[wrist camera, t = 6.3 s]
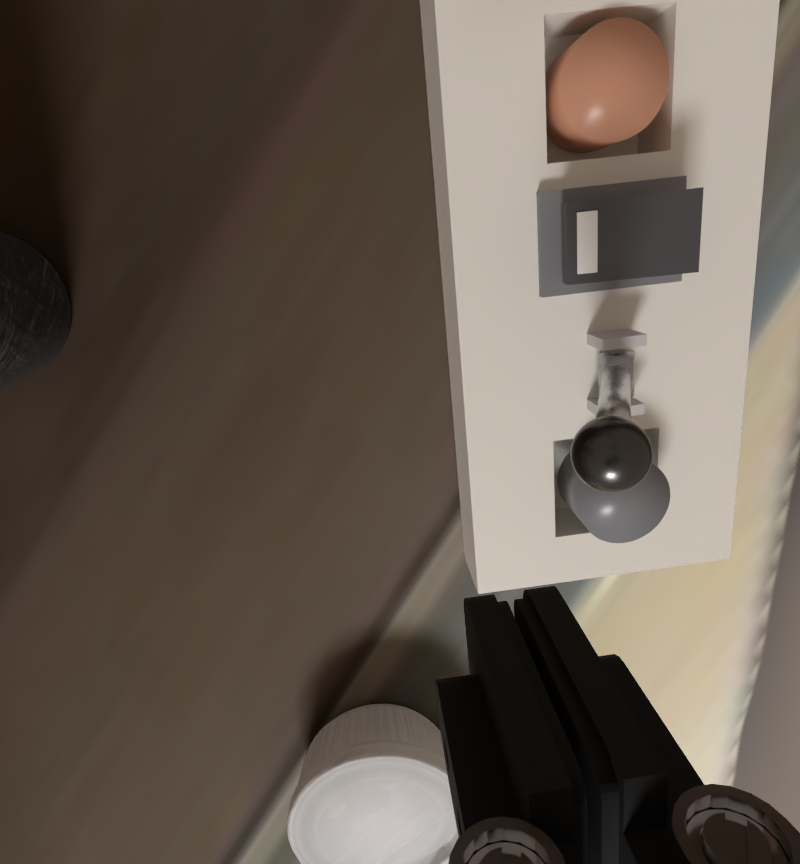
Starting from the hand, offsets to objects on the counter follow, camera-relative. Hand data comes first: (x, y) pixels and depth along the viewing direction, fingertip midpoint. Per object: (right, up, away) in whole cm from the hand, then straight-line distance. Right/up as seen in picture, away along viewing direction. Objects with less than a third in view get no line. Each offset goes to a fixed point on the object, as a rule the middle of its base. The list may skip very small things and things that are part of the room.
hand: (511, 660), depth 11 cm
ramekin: (-4, -18, +29) cm, 34 cm away
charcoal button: (+8, +2, +20) cm, 22 cm away
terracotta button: (+6, +19, +16) cm, 26 cm away
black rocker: (+7, +12, +13) cm, 19 cm away
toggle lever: (+8, +7, +16) cm, 19 cm away
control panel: (+7, +11, +20) cm, 24 cm away
